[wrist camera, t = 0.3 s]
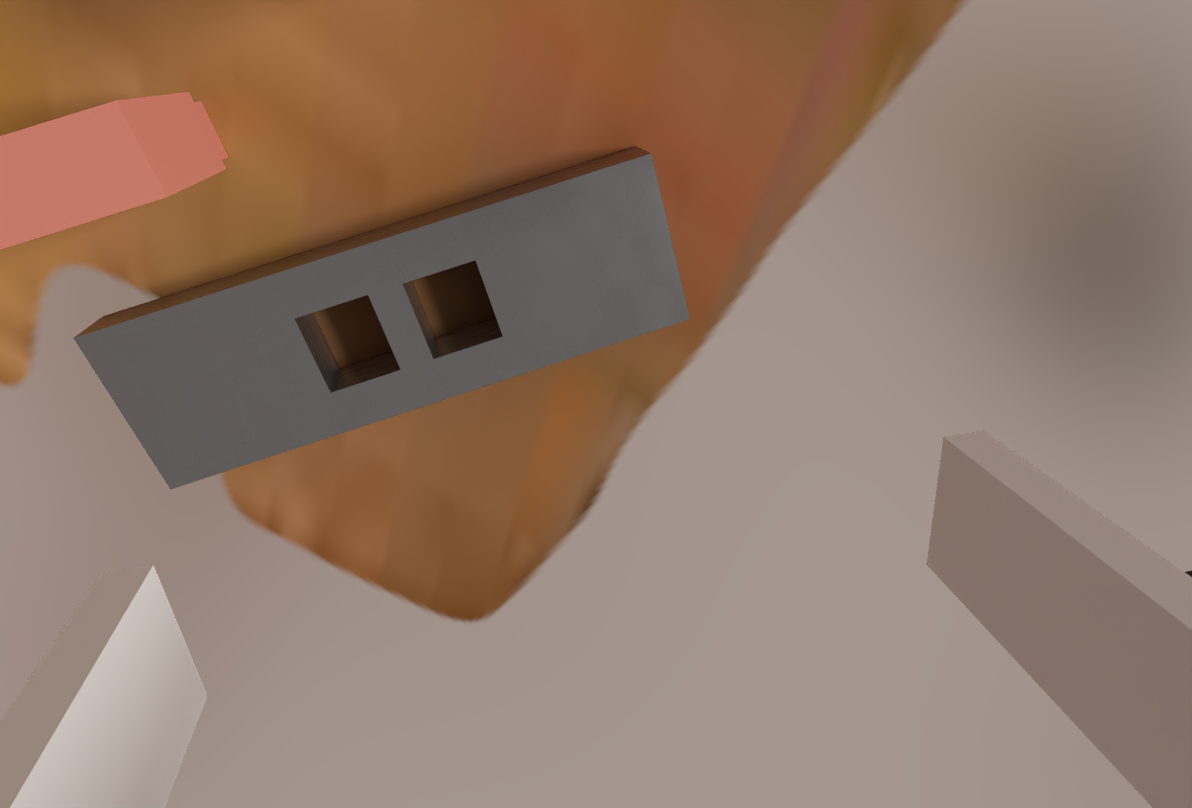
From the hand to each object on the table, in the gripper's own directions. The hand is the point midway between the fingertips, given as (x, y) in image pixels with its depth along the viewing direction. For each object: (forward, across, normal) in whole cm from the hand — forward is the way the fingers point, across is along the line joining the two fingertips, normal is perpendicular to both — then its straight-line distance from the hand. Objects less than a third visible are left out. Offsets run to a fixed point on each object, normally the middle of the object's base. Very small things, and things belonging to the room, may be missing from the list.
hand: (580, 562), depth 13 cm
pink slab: (+26, -15, +5) cm, 31 cm away
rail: (+26, -5, -3) cm, 27 cm away
